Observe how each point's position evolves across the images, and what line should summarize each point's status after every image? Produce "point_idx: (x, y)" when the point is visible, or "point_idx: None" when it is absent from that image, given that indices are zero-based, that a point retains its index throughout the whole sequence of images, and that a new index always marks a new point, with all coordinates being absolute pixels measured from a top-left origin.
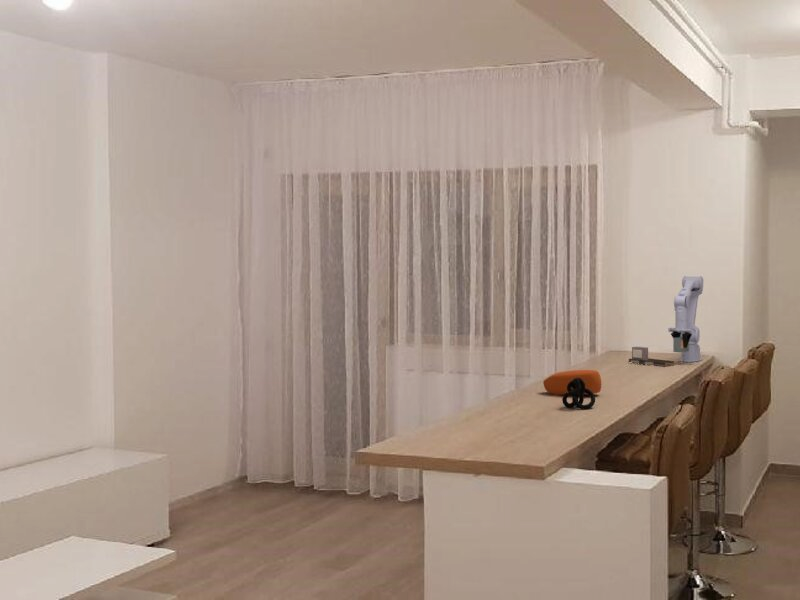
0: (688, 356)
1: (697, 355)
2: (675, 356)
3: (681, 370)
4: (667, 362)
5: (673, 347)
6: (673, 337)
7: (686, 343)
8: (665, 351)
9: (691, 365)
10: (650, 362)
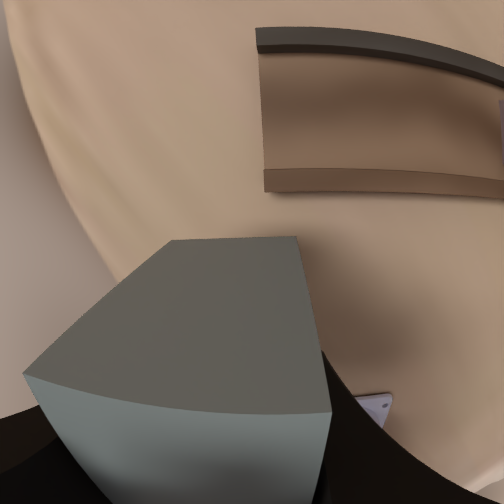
0: None
1: None
2: (454, 458)
3: (58, 41)
4: (333, 168)
5: (299, 259)
6: (398, 471)
7: None
8: (499, 472)
9: None
10: (413, 41)
